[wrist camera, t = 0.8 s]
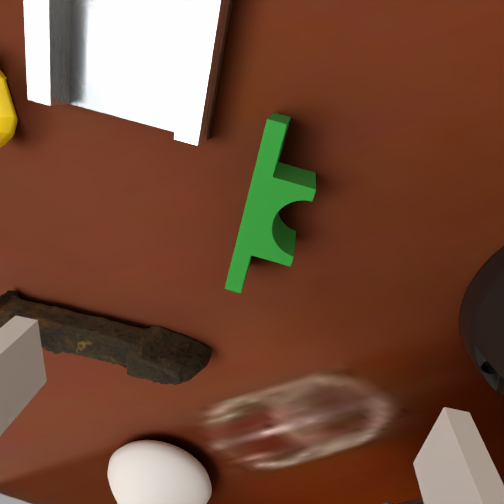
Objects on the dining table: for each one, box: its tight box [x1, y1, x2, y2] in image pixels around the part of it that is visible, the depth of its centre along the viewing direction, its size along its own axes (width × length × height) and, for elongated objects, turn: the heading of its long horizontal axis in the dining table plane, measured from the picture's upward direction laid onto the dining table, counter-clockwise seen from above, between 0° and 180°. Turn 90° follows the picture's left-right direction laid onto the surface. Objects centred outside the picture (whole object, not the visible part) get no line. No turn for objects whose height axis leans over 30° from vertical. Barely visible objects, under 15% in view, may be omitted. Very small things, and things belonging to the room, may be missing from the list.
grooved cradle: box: [24, 0, 233, 145], centre depth 22 cm, size 11×11×3 cm
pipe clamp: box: [225, 112, 316, 293], centre depth 24 cm, size 11×4×5 cm, turn 166°
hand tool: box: [0, 290, 212, 385], centre depth 32 cm, size 19×4×5 cm, turn 79°
